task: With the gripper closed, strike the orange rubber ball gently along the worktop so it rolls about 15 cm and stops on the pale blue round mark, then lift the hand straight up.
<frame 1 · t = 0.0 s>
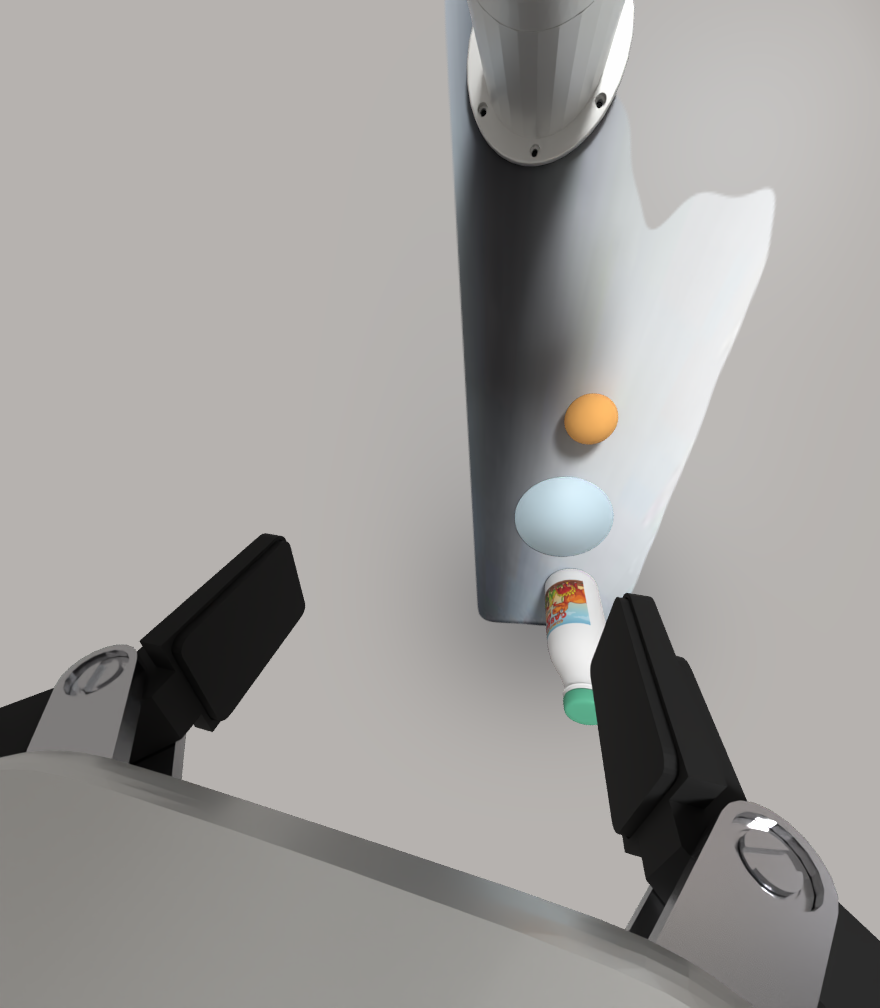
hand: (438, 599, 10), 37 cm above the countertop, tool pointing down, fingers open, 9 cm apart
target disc: (562, 518, 49), on the countertop
ball: (590, 419, 39), on the countertop
milk bottle: (570, 585, 55), on the countertop
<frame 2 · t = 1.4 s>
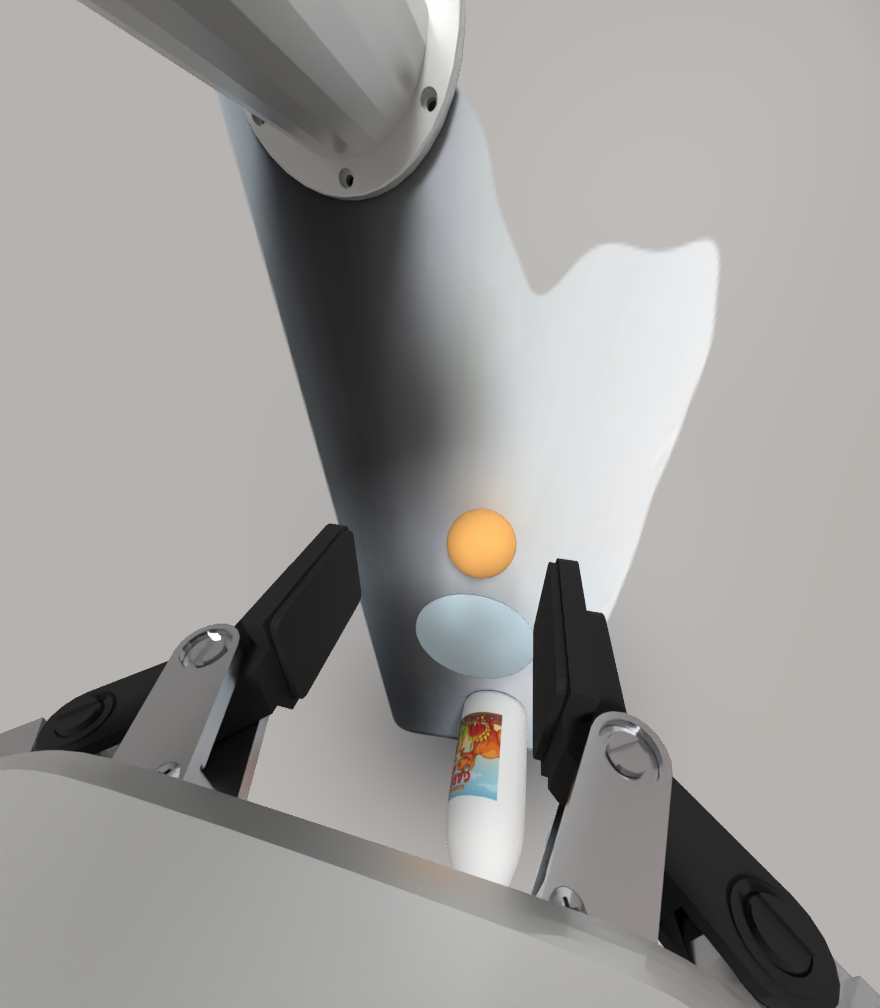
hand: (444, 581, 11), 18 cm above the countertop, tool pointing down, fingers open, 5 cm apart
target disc: (473, 638, 38), on the countertop
ball: (481, 543, 28), on the countertop
milk bottle: (495, 705, 44), on the countertop
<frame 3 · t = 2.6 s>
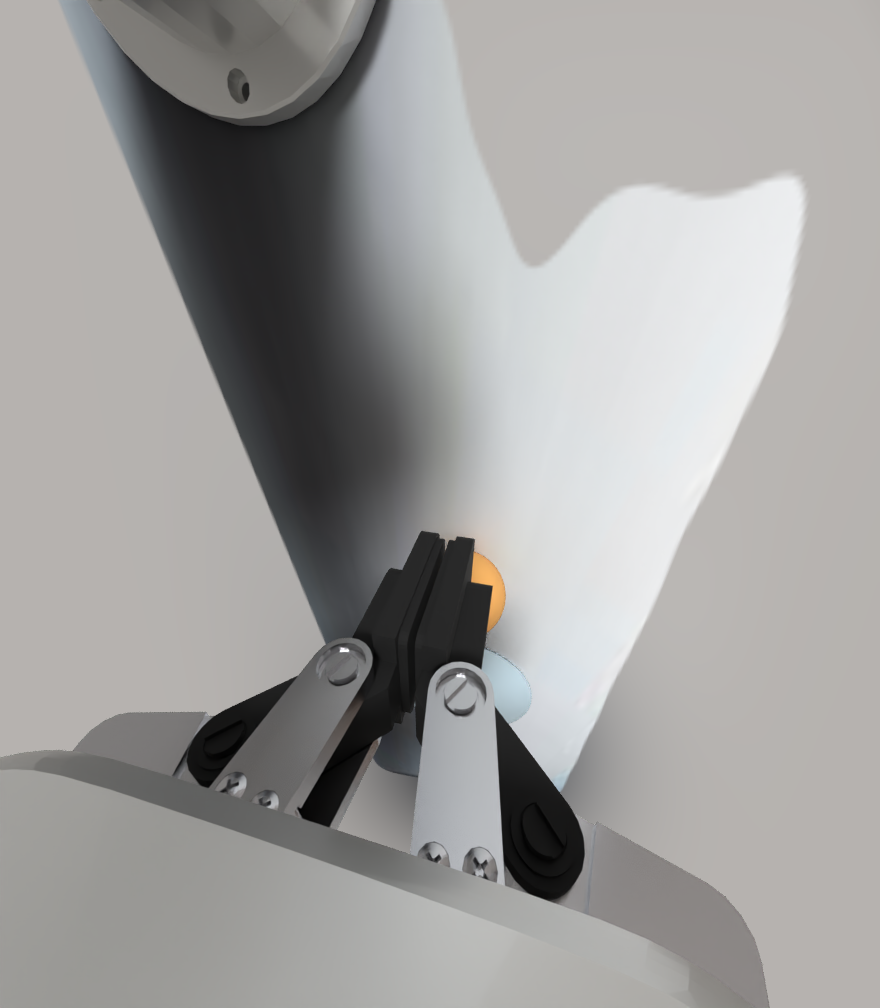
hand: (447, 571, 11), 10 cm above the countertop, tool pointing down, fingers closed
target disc: (458, 686, 32), on the countertop
ball: (461, 593, 22), on the countertop
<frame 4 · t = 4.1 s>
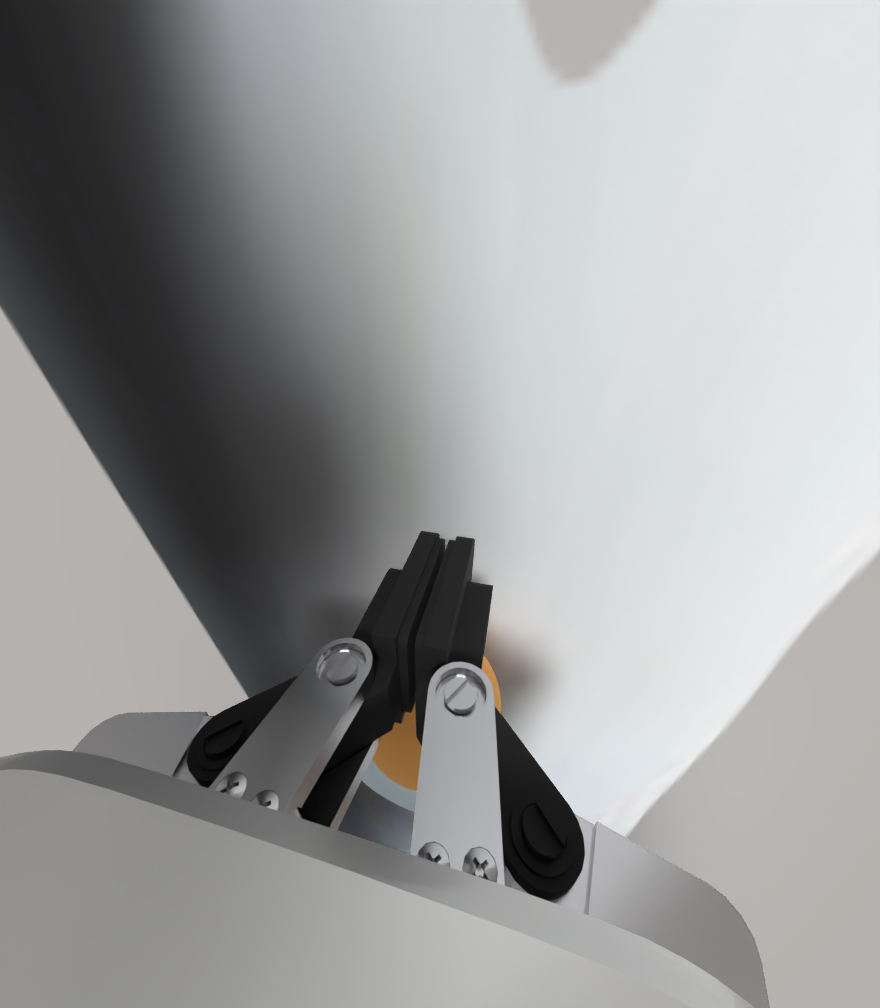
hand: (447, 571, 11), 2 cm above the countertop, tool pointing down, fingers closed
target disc: (437, 781, 24), on the countertop
ball: (430, 701, 14), on the countertop
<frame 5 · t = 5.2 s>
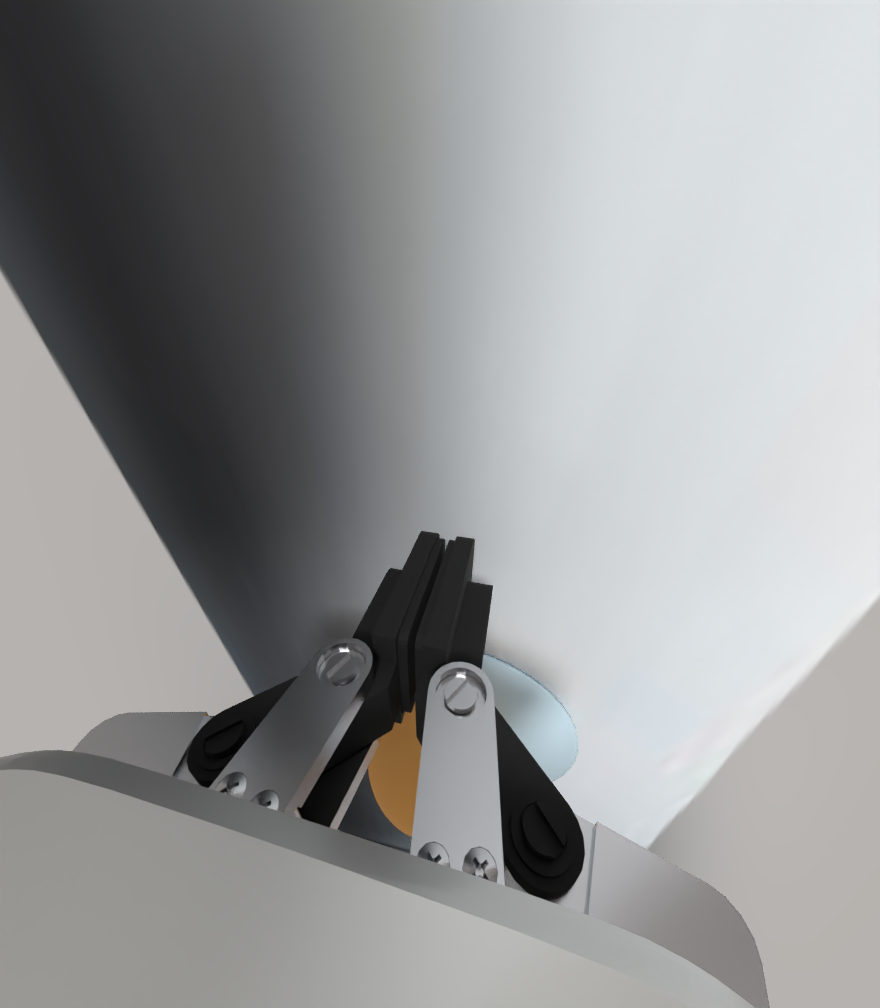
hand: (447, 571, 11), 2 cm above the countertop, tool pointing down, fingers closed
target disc: (446, 723, 19), on the countertop
ball: (434, 750, 15), on the countertop
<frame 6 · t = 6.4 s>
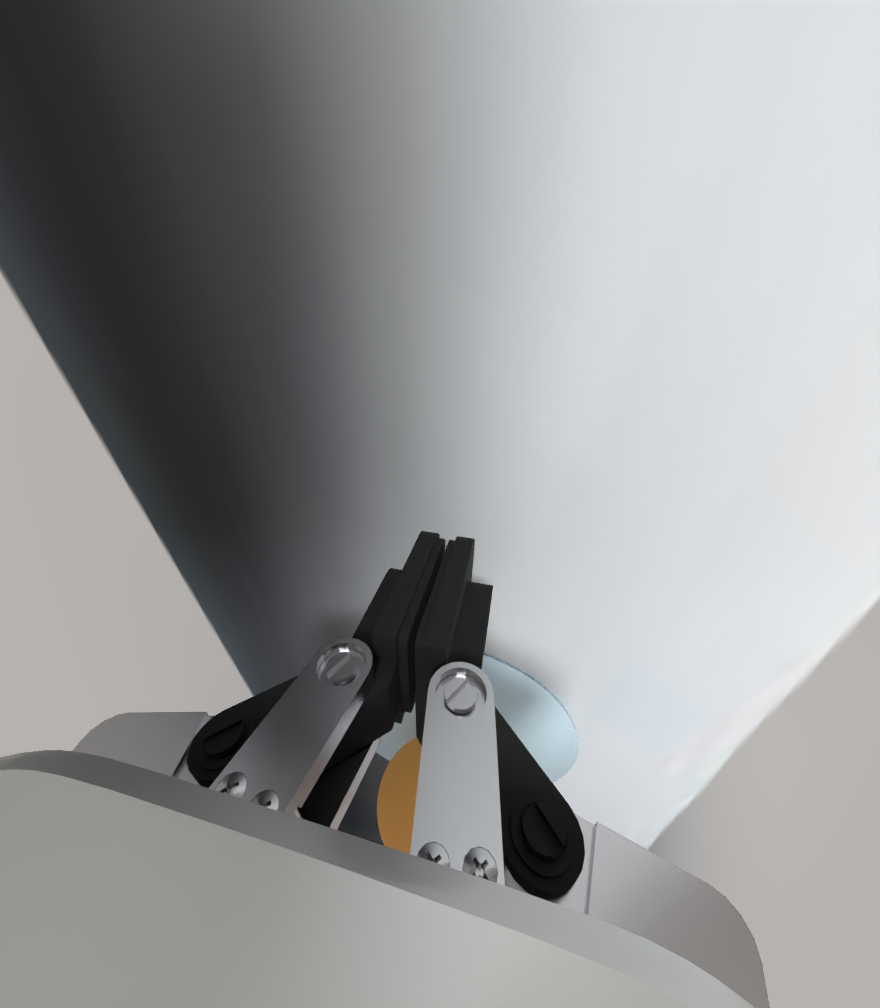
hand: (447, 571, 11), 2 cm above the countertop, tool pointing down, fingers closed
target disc: (446, 724, 19), on the countertop
ball: (433, 800, 17), on the countertop
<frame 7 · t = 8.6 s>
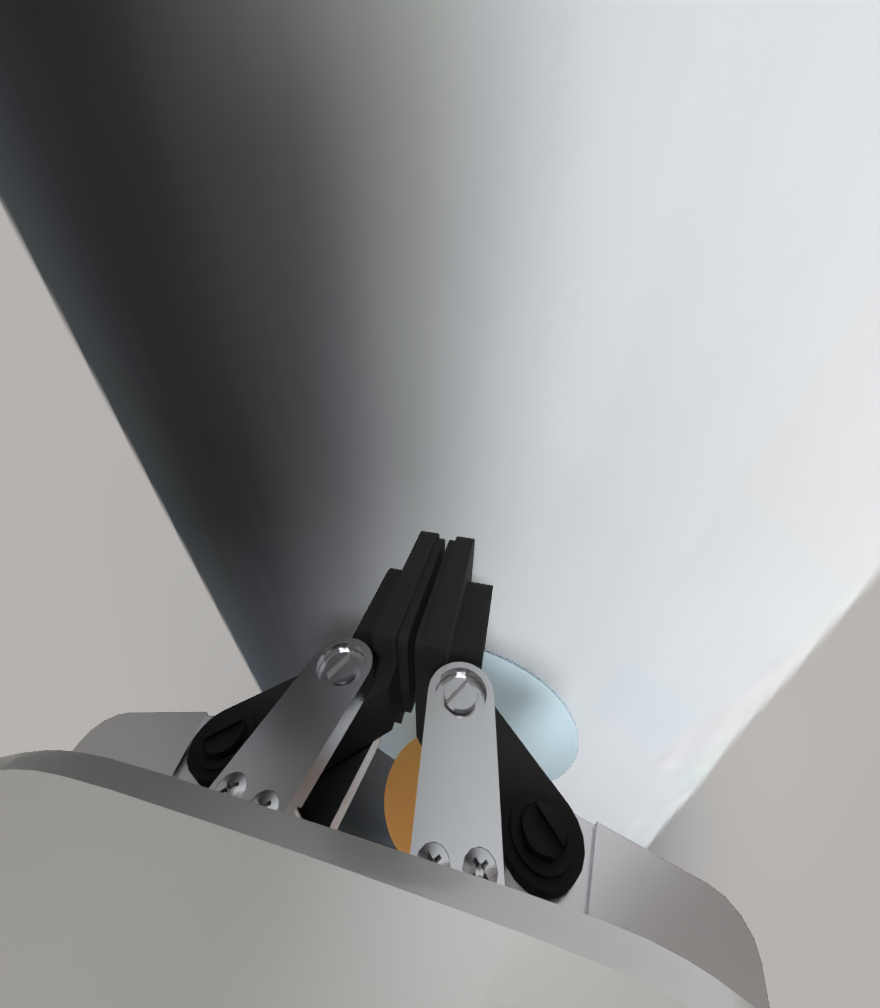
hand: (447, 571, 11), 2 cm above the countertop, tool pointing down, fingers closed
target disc: (451, 722, 19), on the countertop
ball: (438, 795, 18), on the countertop
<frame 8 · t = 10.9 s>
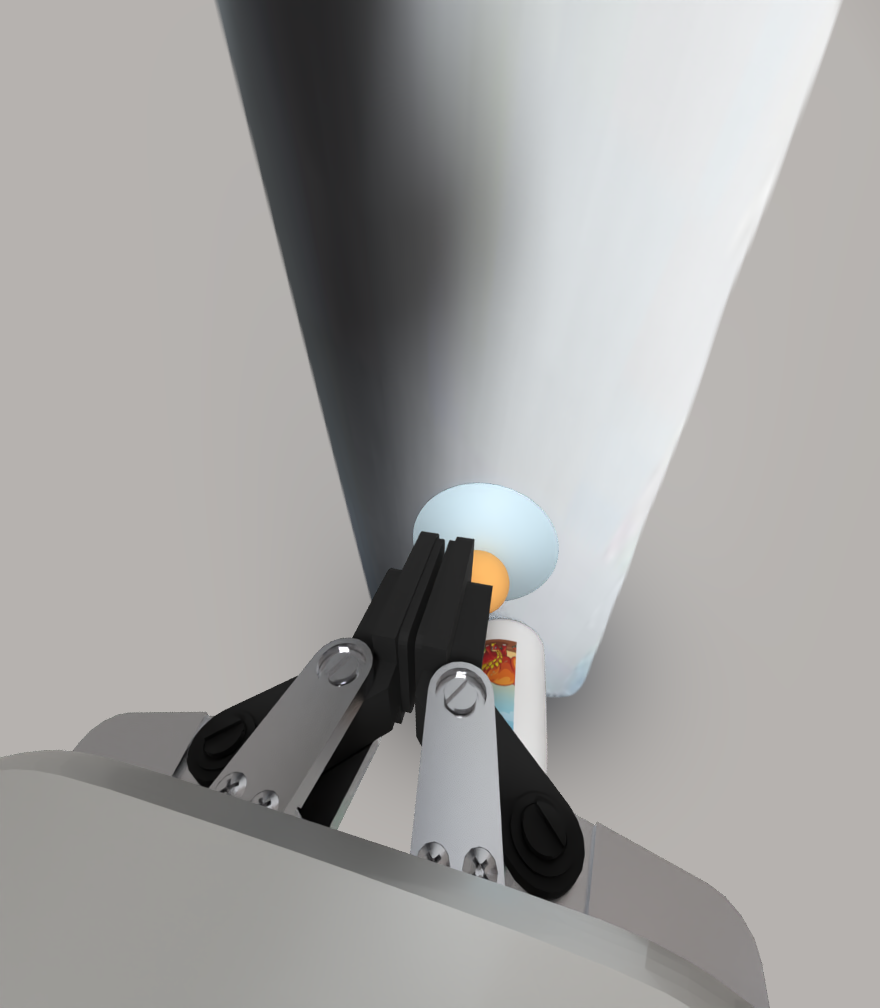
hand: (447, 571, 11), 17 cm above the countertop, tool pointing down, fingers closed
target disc: (482, 547, 32), on the countertop
ball: (477, 582, 30), on the countertop
milk bottle: (506, 640, 37), on the countertop
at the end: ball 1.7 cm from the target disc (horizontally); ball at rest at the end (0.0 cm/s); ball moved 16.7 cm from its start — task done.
